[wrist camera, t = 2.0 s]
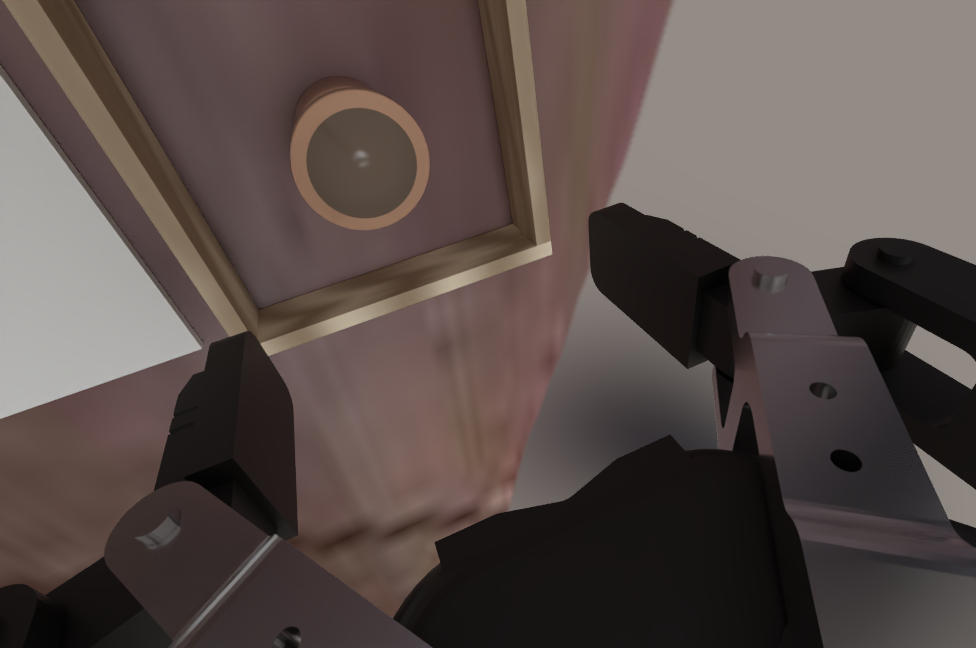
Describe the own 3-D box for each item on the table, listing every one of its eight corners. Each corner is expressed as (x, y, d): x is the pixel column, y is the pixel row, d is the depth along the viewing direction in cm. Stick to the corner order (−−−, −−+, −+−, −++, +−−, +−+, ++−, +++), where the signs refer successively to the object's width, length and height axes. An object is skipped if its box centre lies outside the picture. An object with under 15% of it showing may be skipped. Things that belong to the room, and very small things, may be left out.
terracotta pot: (314, 192, 27) (323, 247, 21) (268, 85, 24) (264, 113, 18) (407, 164, 28) (443, 208, 22) (377, 57, 25) (409, 75, 19)
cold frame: (250, 327, 30) (244, 396, 25) (4, -65, 18) (-111, -95, 13) (527, 231, 34) (574, 274, 29) (474, -149, 22) (539, -200, 16)
